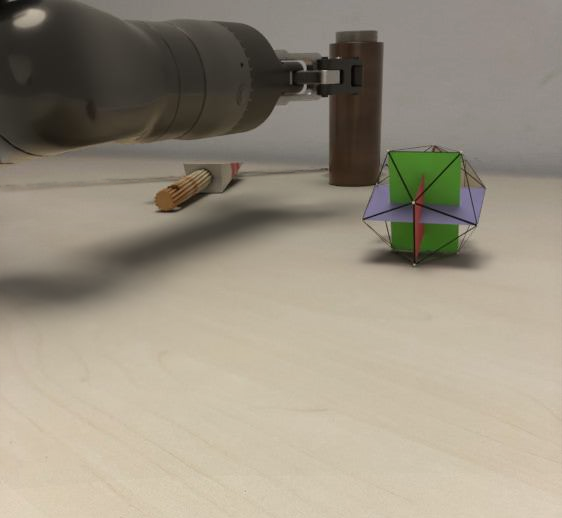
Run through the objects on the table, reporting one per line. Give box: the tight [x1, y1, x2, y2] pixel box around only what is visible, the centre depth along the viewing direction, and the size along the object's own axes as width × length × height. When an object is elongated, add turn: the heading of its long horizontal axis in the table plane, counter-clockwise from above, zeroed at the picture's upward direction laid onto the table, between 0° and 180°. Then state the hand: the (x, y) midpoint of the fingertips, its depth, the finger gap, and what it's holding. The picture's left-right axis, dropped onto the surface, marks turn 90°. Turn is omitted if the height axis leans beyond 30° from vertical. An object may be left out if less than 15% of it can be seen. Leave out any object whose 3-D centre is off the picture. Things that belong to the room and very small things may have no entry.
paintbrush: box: [153, 161, 244, 212], centre depth 68 cm, size 4×3×20 cm
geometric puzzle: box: [360, 143, 488, 267], centre depth 42 cm, size 7×7×8 cm
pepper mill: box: [328, 29, 385, 187], centre depth 70 cm, size 5×5×14 cm
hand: (311, 75), depth 61 cm, fingers open, 8 cm apart
